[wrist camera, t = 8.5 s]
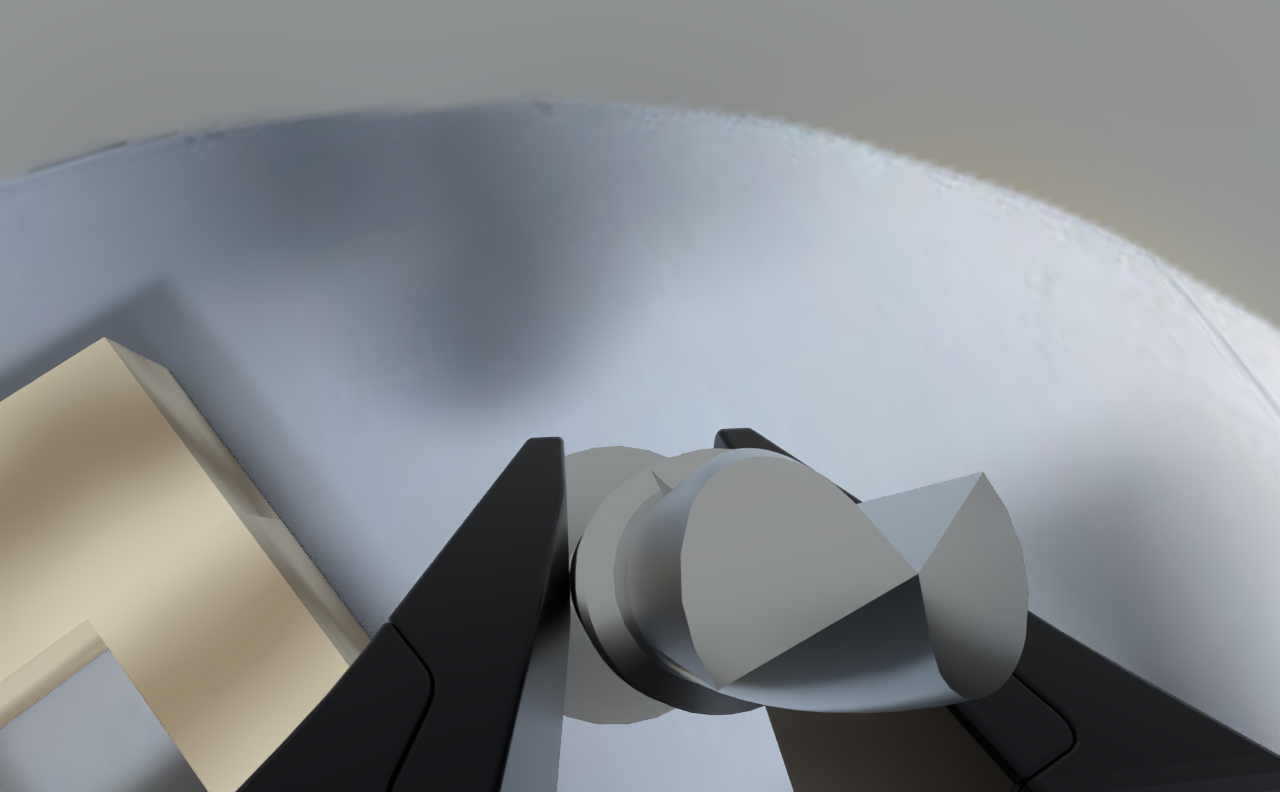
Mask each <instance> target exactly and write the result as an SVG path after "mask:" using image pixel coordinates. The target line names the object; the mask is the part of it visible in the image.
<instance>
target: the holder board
mask: <svg viewBox="0 0 1280 792" xmlns="http://www.w3.org/2000/svg"><path fill="white" fill-rule="evenodd" d="M370 641H371V639H370V638H369V636H368V635H367V634H366V632H365V631H364V630H363V628H362V627H361V626H360V624H359V623H358V622H357V620H356V619H355V618H354V617H353V615H352V614H351V613H350V611H349V610H348V609H347V607H346V606H345V605H344V603H343V602H342V601H341V599H340V598H339V597H338V595H337V594H336V593H335V591H334V590H333V589H332V587H331V586H330V585H329V583H328V582H327V581H326V579H325V578H324V577H323V575H322V574H321V573H320V571H319V570H318V569H317V567H316V566H315V565H314V563H313V562H312V561H311V559H310V558H309V557H308V555H307V554H306V553H305V551H304V550H303V549H302V547H301V546H300V545H299V543H298V542H297V541H296V539H295V538H294V537H293V535H292V534H291V533H290V531H289V530H288V529H287V527H286V526H285V525H284V523H283V522H282V521H281V519H280V518H279V517H278V515H277V514H276V513H275V512H274V510H273V509H272V508H271V506H270V505H269V504H268V502H267V501H266V500H265V498H264V497H263V496H262V494H261V493H260V492H259V490H258V489H257V488H256V486H255V485H254V484H253V482H252V481H251V480H250V478H249V477H248V476H247V474H246V473H245V472H244V470H243V469H242V468H241V466H240V465H239V464H238V462H237V461H236V460H235V458H234V457H233V456H232V454H231V453H230V452H229V450H228V449H227V448H226V446H225V445H224V444H223V442H222V441H221V440H220V438H219V437H218V436H217V434H216V433H215V432H214V430H213V429H212V428H211V426H210V425H209V424H208V422H207V421H206V420H205V418H204V417H203V416H202V414H201V413H200V412H199V410H198V409H197V408H196V407H195V405H194V404H193V403H192V401H191V400H190V399H189V397H188V396H187V395H186V393H185V392H184V391H183V389H182V388H181V387H180V385H179V384H178V383H177V381H176V380H175V379H174V377H173V376H172V375H171V373H170V372H169V371H168V369H167V368H165V367H163V366H161V365H159V364H157V363H155V362H153V361H151V360H149V359H147V358H145V357H143V356H141V355H139V354H137V353H135V352H133V351H131V350H129V349H128V348H126V347H124V346H122V345H120V344H118V343H116V342H114V341H112V340H110V339H108V338H106V337H103V338H101V339H99V340H98V341H96V342H95V343H93V344H91V345H90V346H88V347H87V348H85V349H83V350H82V351H80V352H79V353H77V354H76V355H74V356H72V357H71V358H69V359H68V360H66V361H64V362H63V363H61V364H60V365H58V366H56V367H55V368H53V369H52V370H50V371H48V372H47V373H45V374H44V375H42V376H40V377H39V378H37V379H36V380H34V381H33V382H31V383H29V384H28V385H26V386H25V387H23V388H21V389H20V390H18V391H17V392H15V393H13V394H12V395H10V396H9V397H7V398H5V399H4V400H2V401H1V402H0V728H2V727H3V726H4V725H6V724H7V723H8V722H10V721H11V720H12V719H14V718H15V717H16V716H18V715H19V714H21V713H22V712H23V711H25V710H26V709H27V708H29V707H30V706H31V705H33V704H34V703H35V702H37V701H38V700H39V699H41V698H42V697H43V696H45V695H46V694H48V693H49V692H50V691H52V690H53V689H54V688H56V687H57V686H58V685H60V684H61V683H62V682H64V681H65V680H66V679H68V678H69V677H70V676H72V675H73V674H74V673H76V672H77V671H79V670H80V669H81V668H83V667H84V666H85V665H87V664H88V663H89V662H91V661H92V660H93V659H95V658H96V657H97V656H99V655H100V654H101V653H103V652H104V651H106V650H107V649H108V648H109V650H110V651H111V653H112V654H113V656H114V657H115V658H116V660H117V661H118V663H119V664H120V666H121V667H122V669H123V670H124V671H125V673H126V674H127V676H128V677H129V679H130V680H131V681H132V683H133V684H134V686H135V687H136V689H137V690H138V692H139V693H140V694H141V696H142V697H143V699H144V700H145V702H146V703H147V704H148V706H149V707H150V709H151V710H152V712H153V713H154V715H155V716H156V717H157V719H158V720H159V722H160V723H161V725H162V726H163V727H164V729H165V730H166V732H167V733H168V735H169V736H170V738H171V739H172V740H173V742H174V743H175V745H176V746H177V748H178V749H179V751H180V752H181V753H182V755H183V756H184V758H185V759H186V761H187V762H188V763H189V765H190V766H191V768H192V769H193V771H194V772H195V774H196V775H197V776H198V778H199V779H200V781H201V782H202V784H203V785H204V786H205V788H206V789H207V791H208V792H235V791H236V790H237V789H238V788H239V787H240V786H241V785H242V784H243V783H244V782H245V781H246V780H247V779H248V778H249V777H250V776H251V775H252V774H253V773H254V771H255V770H256V769H257V768H258V767H259V766H260V765H261V764H262V763H263V762H264V761H265V760H266V759H267V758H268V757H269V756H270V755H271V754H272V753H273V752H274V751H275V750H276V749H277V748H278V747H279V746H280V744H281V743H282V742H283V741H284V740H285V739H286V738H287V737H288V736H289V735H290V734H291V733H292V731H293V730H294V729H295V728H296V727H297V726H298V725H299V724H300V723H301V722H302V721H303V720H304V718H305V717H306V716H307V715H308V714H309V713H310V712H311V711H312V710H313V709H314V708H315V706H316V705H317V704H318V703H319V702H320V701H321V700H322V699H323V698H324V697H325V696H326V695H327V693H328V692H329V691H330V690H331V689H332V687H333V686H334V685H335V684H336V683H337V681H338V680H339V679H340V678H341V677H342V675H343V674H344V673H345V672H346V670H347V669H348V668H349V667H350V666H351V664H352V663H353V662H354V661H355V660H356V658H357V657H358V656H359V655H360V654H361V652H362V651H363V650H364V649H365V647H366V646H367V645H368V644H369V642H370Z"/></svg>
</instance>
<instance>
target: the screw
mask: <svg viewBox="0 0 1280 792" xmlns="http://www.w3.org/2000/svg"><path fill="white" fill-rule="evenodd" d="M565 470H566V487H567V516H568V545H569V574H570V607H571V622H570V640H569V652H568V663H567V675H566V687H565V698H564V710H563V715H565V716H567V717H571V718H575V719H579V720H583V721H587V722H591V723H595V724H630V723H635V722H639V721H643V720H647V719H652V718H656V717H659V716H661V715H663V714H665V713H667V712H669V711H671V710H673V709H675V708H678V709H681V710H684V711H688V712H691V713H699V714H707V715H729V714H736V713H741V712H746V711H751V710H754V709H756V708H759V707H762V706H765V705H768V706H773V707H780V708H787V709H793V710H802V711H813V712H825V713H879V712H899V711H907V710H915V709H923V708H931V707H939V706H946V705H951V704H956V703H961V702H965V701H970V700H975V699H980V698H984V697H987V696H989V695H991V694H993V693H994V692H996V691H997V690H998V689H999V688H1001V687H1002V686H1003V685H1004V684H1005V682H1006V681H1007V680H1008V679H1009V677H1010V676H1011V674H1012V673H1013V671H1014V670H1015V668H1016V666H1017V664H1018V662H1019V659H1020V656H1021V653H1022V651H1023V647H1024V643H1025V639H1026V626H1027V611H1028V597H1029V592H1028V585H1027V579H1026V572H1025V566H1024V559H1023V553H1022V548H1021V546H1020V543H1019V540H1018V538H1017V535H1016V532H1015V530H1014V527H1013V525H1012V522H1011V519H1010V517H1009V514H1008V511H1007V509H1006V507H1005V506H1004V504H1003V502H1002V501H1001V499H1000V498H999V496H998V495H997V493H996V491H995V490H994V488H993V487H992V485H991V484H990V482H989V480H988V479H987V477H986V476H985V474H984V473H983V472H981V473H977V474H973V475H969V476H965V477H961V478H957V479H953V480H949V481H945V482H941V483H937V484H933V485H929V486H925V487H921V488H917V489H913V490H910V491H906V492H902V493H898V494H894V495H890V496H886V497H882V498H878V499H874V500H870V501H866V502H862V503H858V504H855V503H854V502H853V501H852V500H851V499H850V498H849V497H848V496H847V495H846V494H845V493H843V492H842V491H841V490H840V489H839V488H838V487H837V486H836V485H835V484H834V483H833V482H832V481H830V480H829V479H828V478H826V477H824V476H823V475H821V474H819V473H818V472H816V471H814V470H813V469H811V468H810V467H808V466H806V465H804V464H802V463H800V462H798V461H796V460H794V459H792V458H790V457H788V456H785V455H782V454H779V453H776V452H772V451H769V450H765V449H756V448H741V449H721V448H714V449H703V450H697V451H693V452H689V453H685V454H681V455H679V456H676V457H671V458H667V457H665V456H662V455H659V454H657V453H654V452H652V451H649V450H643V449H636V448H630V447H623V446H617V447H601V448H592V449H588V450H585V451H581V452H578V453H574V454H570V455H567V456H565Z"/></svg>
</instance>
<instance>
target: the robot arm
mask: <svg viewBox="0 0 1280 792" xmlns="http://www.w3.org/2000/svg"><path fill="white" fill-rule="evenodd" d="M714 448H721V449H741V448H756V449H765V450H769V451H772V452H776V453H779V454H782V455H785V456H788V457H790V458H792V459H794V460H796V461H798V462H800V463H802V464H804V463H803V462H801V461H800V460H798V459H797V458H795V457H794V456H792V455H790V454H789V453H787V452H786V451H784V450H783V449H781V448H780V447H778V446H777V445H775V444H774V443H772V442H771V441H769V440H768V439H766V438H765V437H763V436H762V435H760V434H759V433H757V432H756V431H754V430H752V429H750V428H733V429H721V430H719V431H718V432H717V434H716V437H715V441H714ZM804 465H806V464H804ZM806 466H807V465H806ZM808 467H809V466H808ZM811 469H812V468H811ZM814 471H815V470H814ZM834 484H835V483H834ZM835 485H836V484H835ZM836 486H837V487H838V488H839V489H840V490H841V491H842V492H843V493H845V494H846V495H847V496H848V497H849V498H850V499H851V500H852V501H853V502H854V503H855V504H858V503H862V501H860V500H859V499H857V498H856V497H854V496H853V495H851V494H850V493H848V492H847V491H845V490H844V489H842V488H841V487H839V486H838V485H836ZM388 621H389V623H385V624H383V625H382V627H381V628H380V629H379V631H378V632H377V633H376V635H375V636H374V637H373V638H372V640H371V641H370V642H369V644H368V645H367V646H366V647H365V649H364V650H363V651H362V652H361V654H360V655H359V656H358V657H357V658H356V660H355V661H354V662H353V663H352V664H351V666H350V667H349V668H348V669H347V670H346V672H345V673H344V674H343V675H342V677H341V678H340V679H339V680H338V681H337V683H336V684H335V685H334V686H333V687H332V689H331V690H330V691H329V692H328V693H327V695H326V696H325V697H324V698H323V699H322V700H321V701H320V702H319V703H318V704H317V705H316V706H315V708H314V709H313V710H312V711H311V712H310V713H309V714H308V715H307V716H306V717H305V718H304V720H303V721H302V722H301V723H300V724H299V725H298V726H297V727H296V728H295V729H294V730H293V731H292V733H291V734H290V735H289V736H288V737H287V738H286V739H285V740H284V741H283V742H282V743H281V744H280V746H279V747H278V748H277V749H276V750H275V751H274V752H273V753H272V754H271V755H270V756H269V757H268V758H267V759H266V760H265V761H264V762H263V763H262V764H261V765H260V766H259V767H258V768H257V769H256V770H255V771H254V773H253V774H252V775H251V776H250V777H249V778H248V779H247V780H246V781H245V782H244V783H243V784H242V785H241V786H240V787H239V788H238V789H237V790H236V791H235V792H556V791H557V779H558V768H559V756H560V745H561V733H562V721H563V710H564V698H565V687H566V675H567V663H568V652H569V640H570V622H571V607H570V574H569V545H568V516H567V487H566V470H565V453H564V441H563V440H562V438H560V437H541V438H530V439H529V440H527V441H526V443H525V444H524V445H523V446H522V448H521V449H520V450H519V452H518V453H517V454H516V455H515V457H514V458H513V459H512V460H511V462H510V463H509V464H508V466H507V467H506V468H505V469H504V471H503V472H502V473H501V475H500V476H499V477H498V478H497V480H496V481H495V482H494V484H493V485H492V486H491V487H490V489H489V490H488V491H487V493H486V494H485V495H484V496H483V498H482V499H481V500H480V502H479V503H478V504H477V505H476V507H475V508H474V509H473V511H472V512H471V513H470V514H469V516H468V517H467V518H466V520H465V521H464V522H463V523H462V525H461V526H460V527H459V529H458V530H457V531H456V532H455V534H454V535H453V536H452V538H451V539H450V540H449V541H448V543H447V544H446V545H445V547H444V548H443V549H442V550H441V552H440V553H439V554H438V555H437V557H436V558H435V559H434V561H433V562H432V563H431V564H430V566H429V567H428V568H427V570H426V571H425V572H424V573H423V575H422V576H421V577H420V579H419V580H418V581H417V582H416V584H415V585H414V586H413V588H412V589H411V590H410V591H409V593H408V594H407V595H406V597H405V598H404V599H403V600H402V602H401V603H400V604H399V606H398V607H397V608H396V609H395V611H394V612H393V613H392V615H391V616H390V617H389V620H388ZM765 707H766V710H767V713H768V716H769V719H770V722H771V725H772V728H773V731H774V734H775V737H776V740H777V743H778V746H779V749H780V752H781V755H782V758H783V761H784V764H785V767H786V770H787V773H788V776H789V779H790V782H791V785H792V788H793V791H794V792H1280V755H1278V754H1276V753H1274V752H1272V751H1270V750H1269V749H1267V748H1265V747H1263V746H1261V745H1260V744H1258V743H1256V742H1254V741H1253V740H1251V739H1249V738H1247V737H1246V736H1244V735H1242V734H1240V733H1238V732H1237V731H1235V730H1233V729H1231V728H1230V727H1228V726H1226V725H1224V724H1223V723H1221V722H1219V721H1217V720H1216V719H1214V718H1212V717H1210V716H1208V715H1207V714H1205V713H1203V712H1201V711H1200V710H1198V709H1196V708H1194V707H1193V706H1191V705H1189V704H1187V703H1185V702H1184V701H1182V700H1180V699H1178V698H1177V697H1175V696H1173V695H1171V694H1170V693H1168V692H1166V691H1164V690H1162V689H1161V688H1159V687H1157V686H1155V685H1154V684H1152V683H1150V682H1148V681H1147V680H1145V679H1143V678H1141V677H1140V676H1138V675H1136V674H1134V673H1132V672H1131V671H1129V670H1127V669H1125V668H1124V667H1122V666H1120V665H1118V664H1117V663H1115V662H1113V661H1111V660H1110V659H1108V658H1106V657H1105V656H1103V655H1101V654H1100V653H1098V652H1096V651H1094V650H1093V649H1091V648H1089V647H1088V646H1086V645H1084V644H1082V643H1081V642H1079V641H1077V640H1076V639H1074V638H1072V637H1070V636H1069V635H1067V634H1065V633H1064V632H1062V631H1060V630H1059V629H1057V628H1055V627H1054V626H1052V625H1051V624H1049V623H1048V622H1046V621H1044V620H1043V619H1041V618H1040V617H1038V616H1036V615H1035V614H1033V613H1032V612H1030V611H1029V610H1028V611H1027V626H1026V639H1025V643H1024V647H1023V651H1022V653H1021V656H1020V659H1019V662H1018V664H1017V666H1016V668H1015V670H1014V671H1013V673H1012V674H1011V676H1010V677H1009V679H1008V680H1007V681H1006V682H1005V684H1004V685H1003V686H1002V687H1001V688H999V689H998V690H997V691H996V692H994V693H993V694H991V695H989V696H987V697H984V698H980V699H975V700H970V701H965V702H961V703H956V704H951V705H946V706H939V707H931V708H923V709H915V710H907V711H899V712H879V713H825V712H813V711H802V710H793V709H787V708H780V707H773V706H768V705H765Z"/></svg>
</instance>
